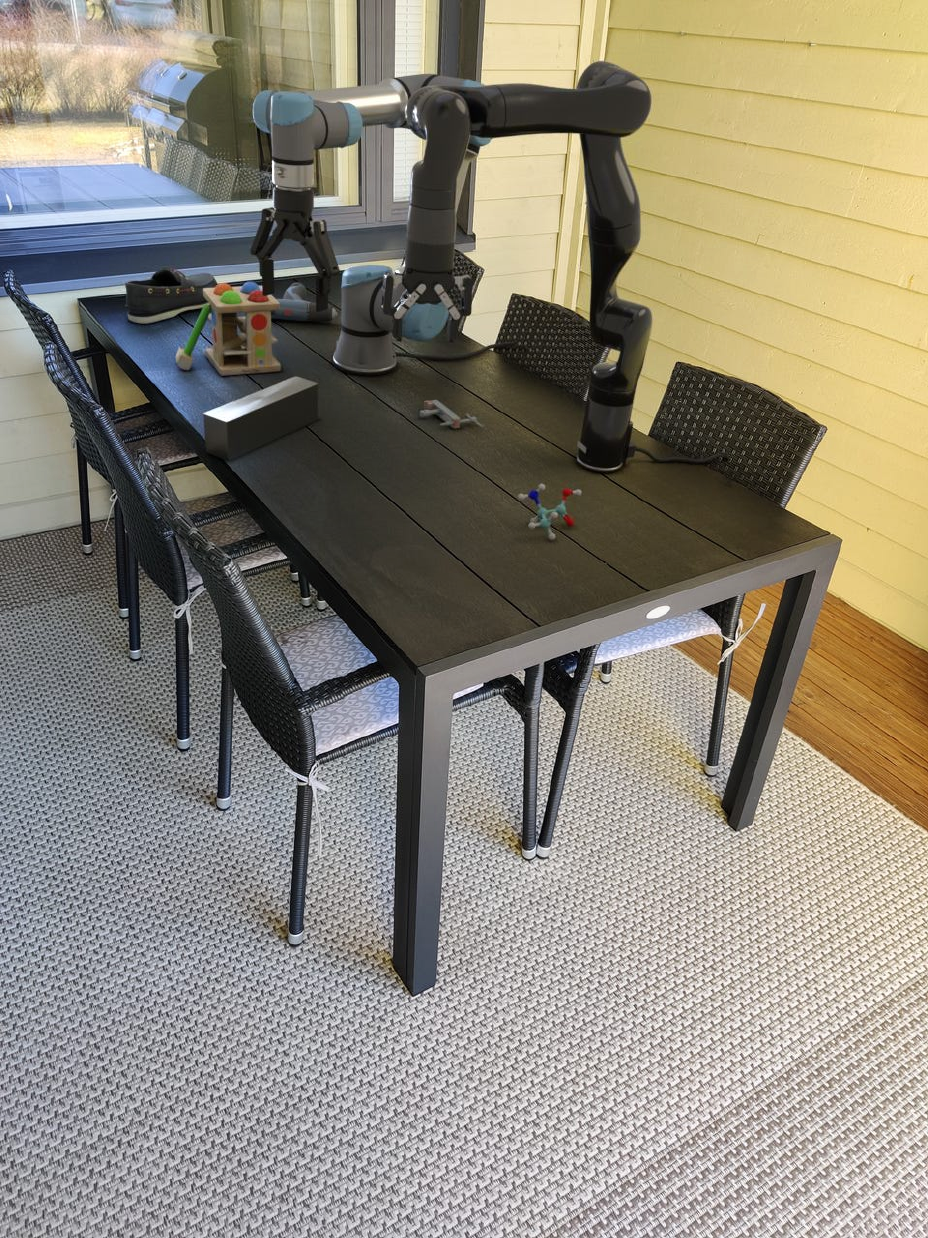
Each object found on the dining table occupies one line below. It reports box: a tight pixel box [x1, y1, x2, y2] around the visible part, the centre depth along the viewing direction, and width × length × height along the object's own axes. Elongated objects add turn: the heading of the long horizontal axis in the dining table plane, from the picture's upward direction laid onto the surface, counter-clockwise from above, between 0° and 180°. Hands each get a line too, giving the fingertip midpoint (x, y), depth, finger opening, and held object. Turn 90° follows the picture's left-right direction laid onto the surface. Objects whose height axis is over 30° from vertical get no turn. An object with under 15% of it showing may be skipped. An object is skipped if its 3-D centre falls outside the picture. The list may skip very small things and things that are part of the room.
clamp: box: [419, 399, 486, 430], centre depth 213 cm, size 15×2×10 cm
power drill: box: [271, 282, 338, 322], centre depth 265 cm, size 5×19×20 cm
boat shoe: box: [124, 266, 218, 324], centre depth 259 cm, size 13×33×10 cm, turn 147°
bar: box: [202, 375, 319, 462], centre depth 198 cm, size 27×6×8 cm, turn 148°
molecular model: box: [517, 483, 582, 541], centre depth 175 cm, size 12×10×10 cm
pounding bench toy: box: [174, 281, 282, 377], centre depth 225 cm, size 23×14×18 cm, turn 116°
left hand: (294, 302), depth 193 cm, fingers open, 13 cm apart
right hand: (424, 340), depth 159 cm, fingers open, 8 cm apart
